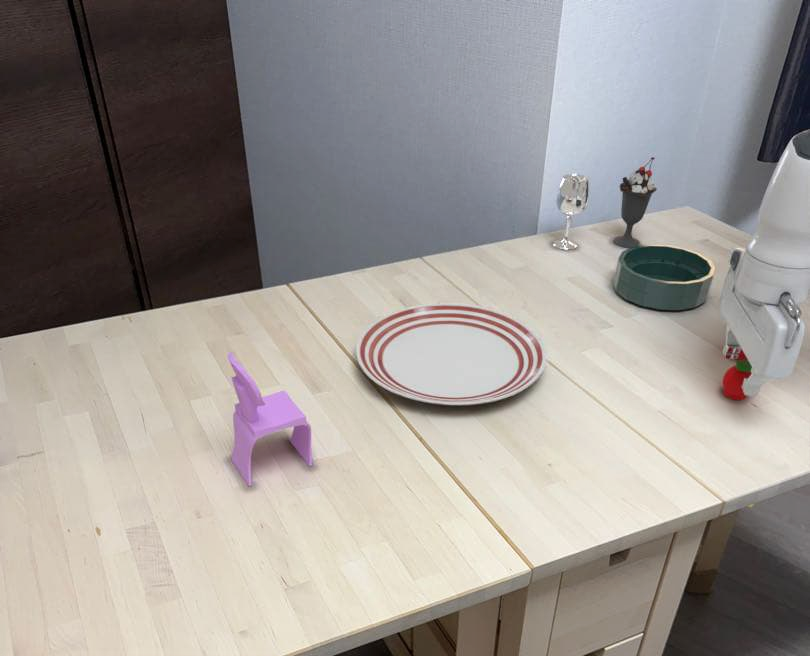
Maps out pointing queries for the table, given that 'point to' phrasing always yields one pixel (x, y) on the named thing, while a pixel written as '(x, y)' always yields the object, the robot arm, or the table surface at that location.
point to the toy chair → (263, 420)
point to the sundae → (634, 202)
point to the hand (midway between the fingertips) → (738, 374)
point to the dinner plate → (451, 354)
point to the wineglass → (571, 202)
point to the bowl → (663, 277)
